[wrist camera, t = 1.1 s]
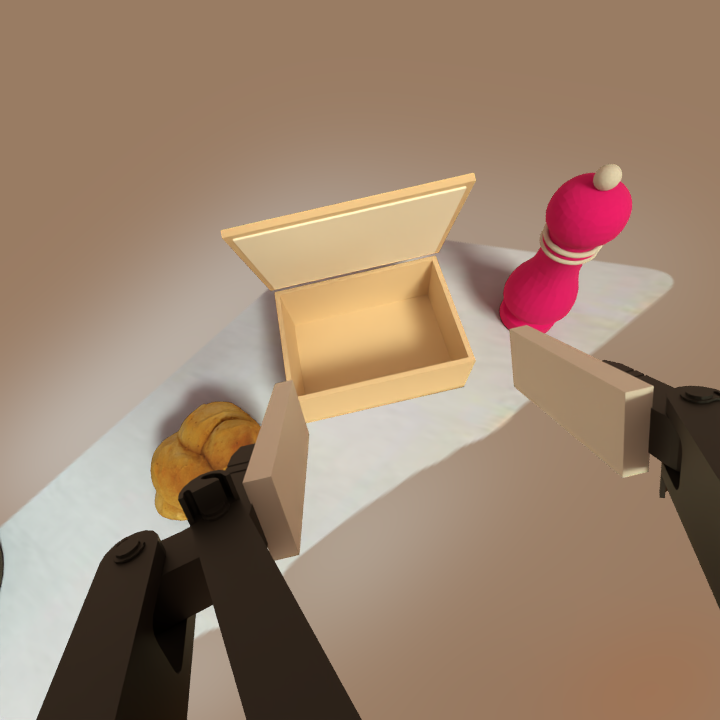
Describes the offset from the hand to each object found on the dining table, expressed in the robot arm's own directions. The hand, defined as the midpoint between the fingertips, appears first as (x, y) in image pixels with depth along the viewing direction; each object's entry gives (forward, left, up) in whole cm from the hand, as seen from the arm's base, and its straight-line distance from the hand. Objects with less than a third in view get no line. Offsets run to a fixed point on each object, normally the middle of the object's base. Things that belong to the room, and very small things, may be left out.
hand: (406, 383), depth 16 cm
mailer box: (0, +14, -25) cm, 28 cm away
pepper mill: (+19, +14, -25) cm, 35 cm away
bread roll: (-19, +5, -25) cm, 32 cm away
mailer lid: (0, +18, -11) cm, 21 cm away
